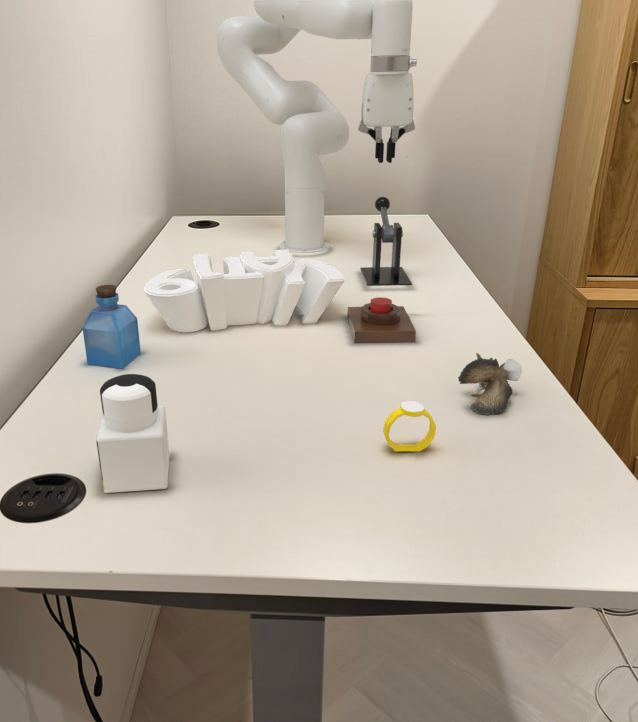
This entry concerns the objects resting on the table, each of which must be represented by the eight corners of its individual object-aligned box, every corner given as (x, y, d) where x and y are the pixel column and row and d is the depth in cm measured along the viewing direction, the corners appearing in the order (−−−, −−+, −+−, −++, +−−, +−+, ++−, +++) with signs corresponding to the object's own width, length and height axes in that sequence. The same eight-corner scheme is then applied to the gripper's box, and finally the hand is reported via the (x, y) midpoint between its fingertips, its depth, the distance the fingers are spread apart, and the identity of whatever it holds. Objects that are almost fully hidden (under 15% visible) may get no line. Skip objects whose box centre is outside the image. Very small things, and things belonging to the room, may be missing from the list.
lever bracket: (360, 272, 148) (362, 219, 143) (401, 272, 148) (405, 218, 143) (367, 290, 137) (369, 232, 133) (411, 289, 137) (415, 231, 132)
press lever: (373, 206, 147) (374, 193, 145) (388, 205, 147) (389, 193, 145) (379, 244, 139) (381, 232, 136) (395, 244, 139) (397, 231, 136)
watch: (385, 457, 81) (388, 413, 78) (380, 444, 83) (383, 401, 81) (435, 454, 81) (439, 410, 78) (428, 442, 83) (432, 399, 81)
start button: (368, 306, 118) (369, 297, 117) (389, 306, 117) (390, 297, 117) (371, 314, 114) (371, 304, 114) (392, 313, 114) (393, 304, 113)
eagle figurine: (457, 372, 98) (443, 387, 91) (491, 337, 95) (479, 348, 87) (498, 408, 97) (487, 426, 89) (534, 373, 93) (526, 389, 86)
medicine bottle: (110, 459, 82) (98, 369, 77) (169, 455, 82) (161, 366, 77) (103, 494, 75) (89, 398, 70) (167, 489, 76) (158, 394, 71)
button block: (347, 318, 123) (348, 297, 121) (402, 317, 123) (404, 296, 121) (354, 343, 112) (355, 321, 110) (415, 343, 112) (416, 320, 110)
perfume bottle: (140, 353, 111) (133, 283, 106) (122, 369, 105) (113, 295, 100) (107, 349, 113) (98, 280, 108) (87, 364, 107) (77, 292, 102)
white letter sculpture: (330, 298, 133) (332, 246, 129) (347, 329, 118) (349, 271, 114) (152, 307, 131) (147, 254, 127) (145, 339, 116) (139, 280, 112)
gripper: (425, 64, 137) (418, 158, 145) (348, 66, 138) (345, 160, 145) (432, 65, 130) (425, 163, 138) (352, 67, 131) (349, 165, 138)
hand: (384, 161), depth 141 cm, fingers closed
